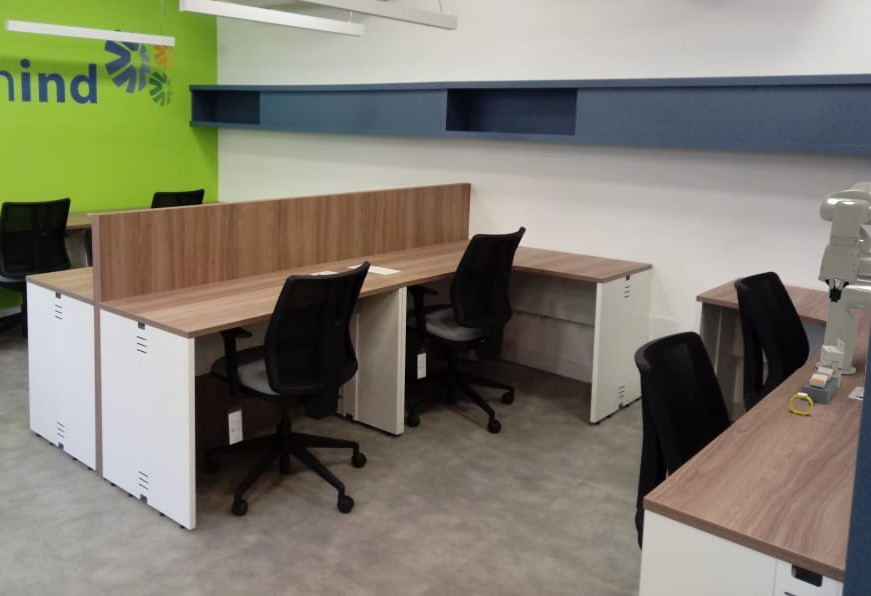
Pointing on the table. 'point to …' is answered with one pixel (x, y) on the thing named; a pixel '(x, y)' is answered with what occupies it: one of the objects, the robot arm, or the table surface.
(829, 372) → the rocker
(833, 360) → the ink cartridge box
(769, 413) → the table surface
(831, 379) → the rocker switch panel
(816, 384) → the plate
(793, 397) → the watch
